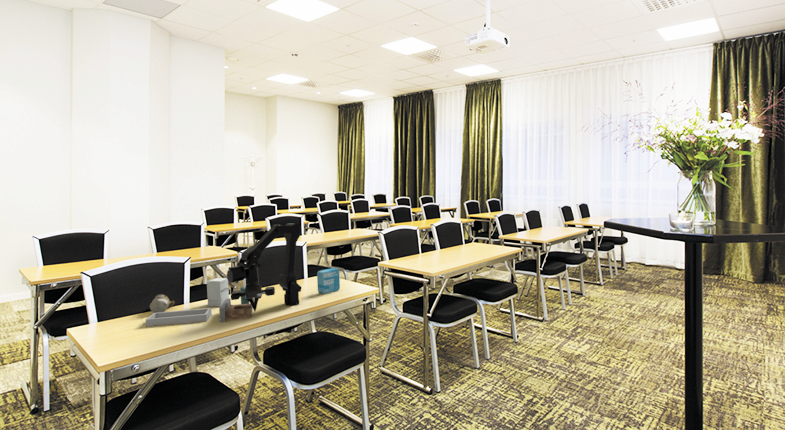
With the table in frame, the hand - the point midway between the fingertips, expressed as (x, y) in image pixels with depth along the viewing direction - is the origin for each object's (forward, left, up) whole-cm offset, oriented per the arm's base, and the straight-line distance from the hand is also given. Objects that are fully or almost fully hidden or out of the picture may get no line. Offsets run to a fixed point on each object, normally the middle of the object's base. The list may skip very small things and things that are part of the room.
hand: (255, 311), depth 191 cm
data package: (-35, -30, -1) cm, 46 cm away
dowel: (+6, -11, -1) cm, 12 cm away
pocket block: (+7, +1, -1) cm, 7 cm away
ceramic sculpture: (+45, -20, -1) cm, 49 cm away
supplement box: (+20, -22, -1) cm, 29 cm away
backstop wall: (+13, 0, -1) cm, 13 cm away
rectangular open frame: (+32, 0, -1) cm, 32 cm away
